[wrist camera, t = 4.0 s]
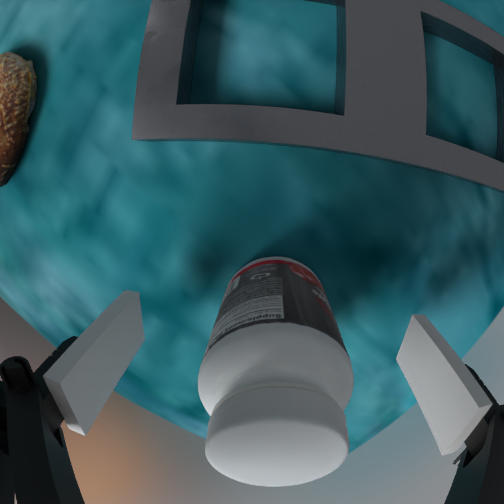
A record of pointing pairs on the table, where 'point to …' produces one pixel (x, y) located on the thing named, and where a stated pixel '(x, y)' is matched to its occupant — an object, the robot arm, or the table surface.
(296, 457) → the pill bottle
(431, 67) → the table surface
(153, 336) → the table surface
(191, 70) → the grey rectangular frame
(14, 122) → the bread roll
